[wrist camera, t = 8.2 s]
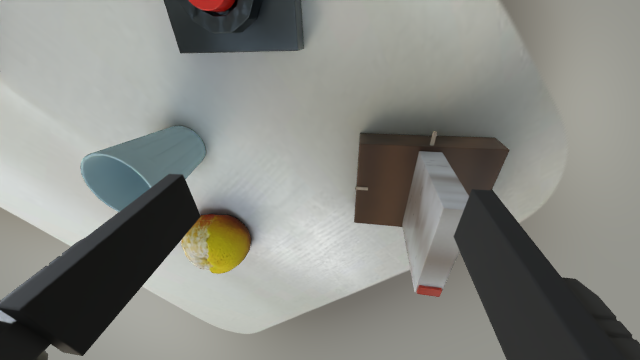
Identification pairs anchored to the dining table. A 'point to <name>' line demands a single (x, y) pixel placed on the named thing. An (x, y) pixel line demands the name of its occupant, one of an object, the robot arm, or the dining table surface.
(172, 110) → the dining table surface
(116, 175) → the cup
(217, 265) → the fruit
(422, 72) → the dining table surface
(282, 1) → the button block
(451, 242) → the brushed metal plate
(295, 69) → the dining table surface
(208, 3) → the button
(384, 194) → the brown rectangular board
